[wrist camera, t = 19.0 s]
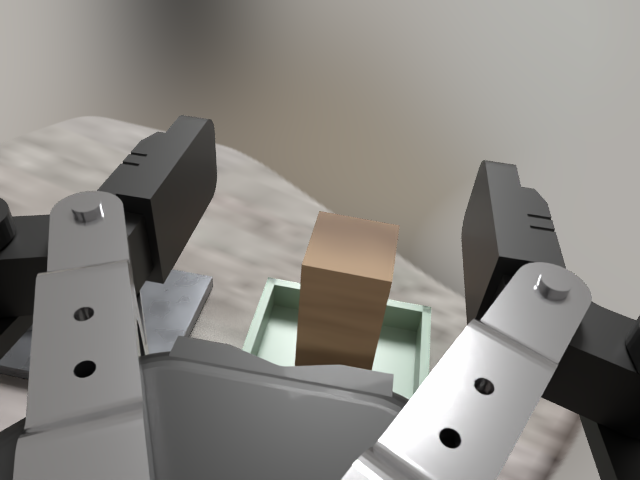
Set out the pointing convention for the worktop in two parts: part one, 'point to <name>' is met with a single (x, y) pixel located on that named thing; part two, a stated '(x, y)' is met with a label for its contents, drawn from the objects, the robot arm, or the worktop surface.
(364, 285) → the brown wooden block
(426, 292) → the worktop surface
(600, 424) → the robot arm
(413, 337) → the tray
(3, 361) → the crank bed
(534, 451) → the worktop surface
